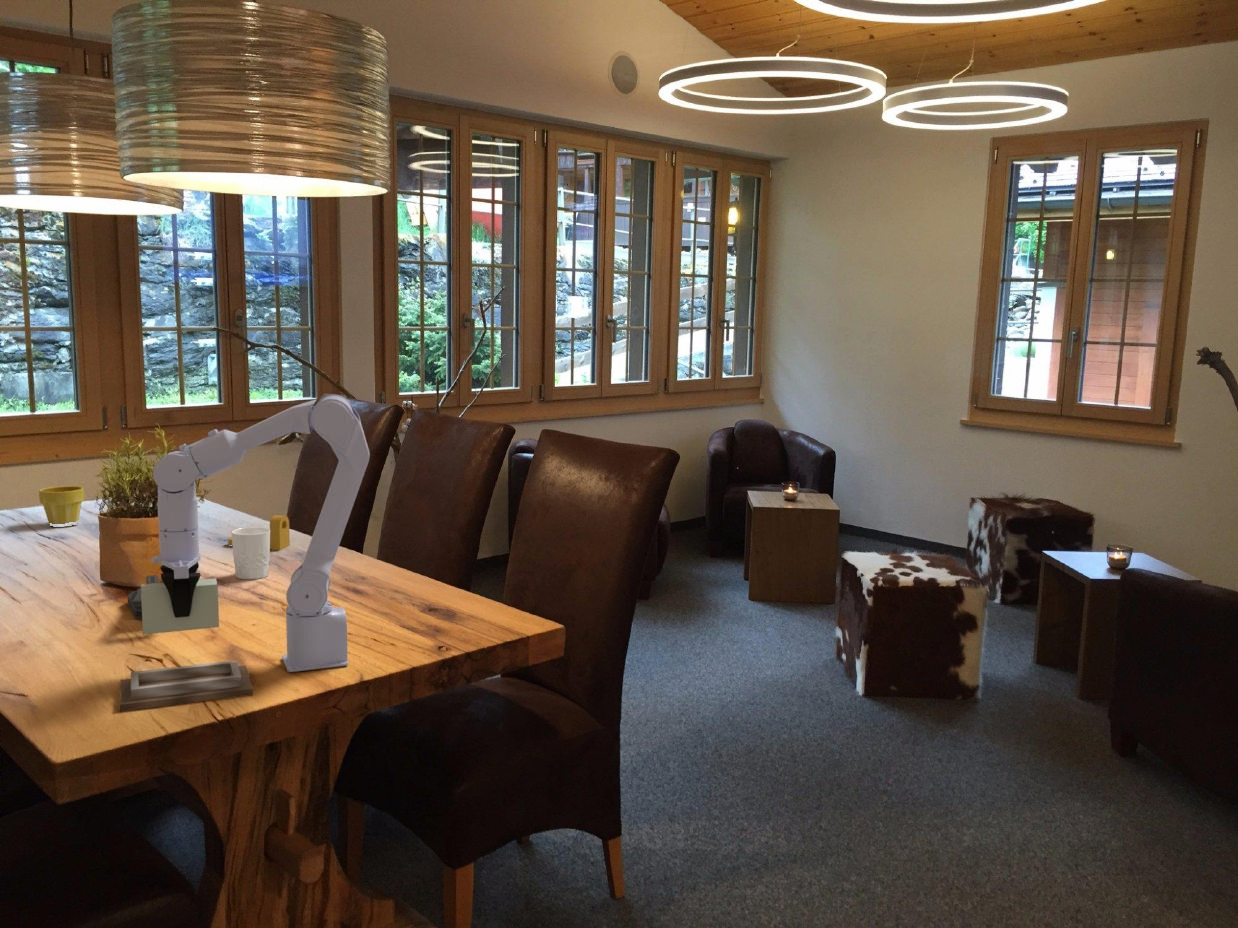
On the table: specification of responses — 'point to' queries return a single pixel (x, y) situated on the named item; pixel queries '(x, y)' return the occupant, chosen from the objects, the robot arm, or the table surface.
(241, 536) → the white cup
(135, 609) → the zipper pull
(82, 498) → the plant pot
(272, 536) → the bracket
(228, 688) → the plate
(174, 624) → the pale green block
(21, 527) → the table surface
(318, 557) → the robot arm
